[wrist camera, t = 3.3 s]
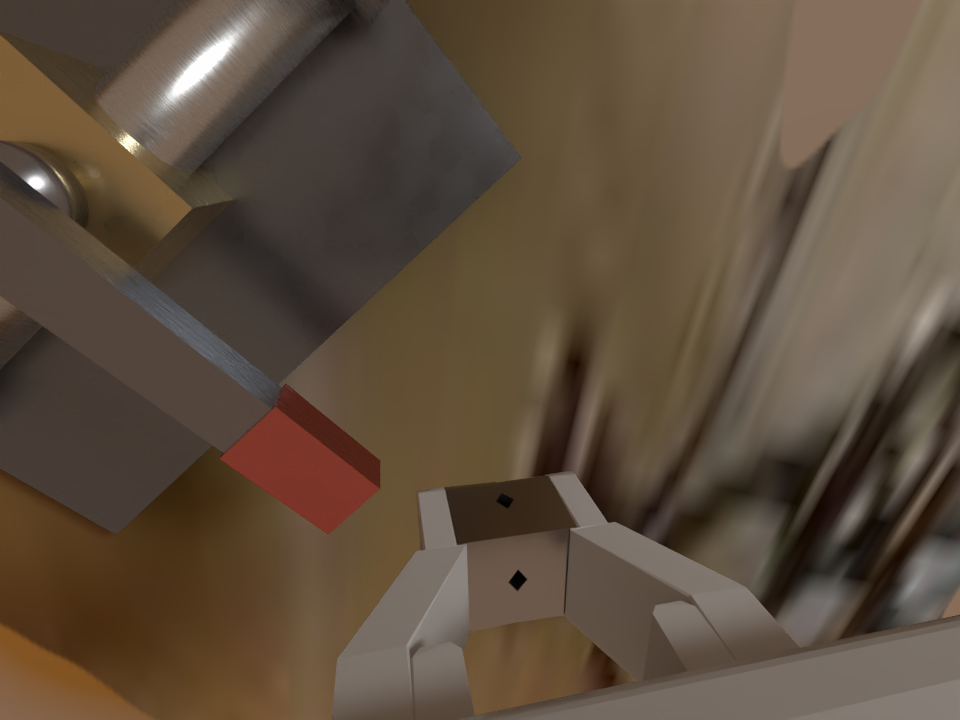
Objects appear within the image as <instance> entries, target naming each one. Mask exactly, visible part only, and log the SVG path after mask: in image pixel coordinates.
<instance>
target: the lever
mask: <svg viewBox="0 0 960 720" xmlns="http://www.w3.org/2000/svg"><path fill="white" fill-rule="evenodd" d="M88 218H89V208H88V202H87V198H86V195H85V192H84V190H83V188H82V186H81V184H80V182H79V181H78V179H77V178H76V176H75V175H74V174H73V172H72V171H71V170H70V169H69V168H68V167H67V166H66V165H65V164H64V163H63V162H62V161H60V160H59V159H58V158H56V157H55V156H54V155H52V154H50V153H49V152H47V151H45V150H43V149H41V148H39V147H36V146H34V145H31V144H27V143H23V142H18V141H8V140H0V296H1V297H2V298H4V299H5V300H6V301H8V302H9V303H11V304H12V305H14V306H15V307H16V308H18V309H19V310H21V311H22V312H23V313H25V314H26V315H28V316H29V317H31V318H32V319H33V320H35V321H36V322H38V323H39V324H41V325H42V326H43V327H45V328H46V329H48V330H49V331H50V332H52V333H53V334H55V335H56V336H58V337H59V338H60V339H62V340H63V341H65V342H66V343H68V344H69V345H70V346H72V347H73V348H75V349H76V350H77V351H79V352H80V353H82V354H83V355H85V356H86V357H87V358H89V359H90V360H92V361H93V362H95V363H96V364H97V365H99V366H100V367H102V368H103V369H104V370H106V371H107V372H109V373H110V374H112V375H113V376H114V377H116V378H117V379H119V380H120V381H122V382H123V383H124V384H126V385H127V386H129V387H130V388H131V389H133V390H134V391H136V392H137V393H139V394H140V395H141V396H143V397H144V398H146V399H147V400H149V401H150V402H151V403H153V404H154V405H156V406H157V407H158V408H160V409H161V410H163V411H164V412H166V413H167V414H168V415H170V416H171V417H173V418H174V419H176V420H177V421H178V422H180V423H181V424H183V425H184V426H185V427H187V428H188V429H190V430H191V431H193V432H194V433H195V434H197V435H198V436H200V437H201V438H203V439H204V440H205V441H207V442H208V443H210V444H211V445H212V446H214V447H215V448H217V449H218V450H220V451H221V452H222V455H221V457H220V458H219V459H220V460H222V461H223V462H225V463H226V464H227V465H229V466H230V467H232V468H233V469H235V470H236V471H237V472H239V473H240V474H242V475H243V476H245V477H246V478H248V479H249V480H250V481H252V482H253V483H255V484H256V485H258V486H259V487H260V488H262V489H263V490H265V491H266V492H268V493H269V494H271V495H272V496H273V497H275V498H276V499H278V500H279V501H281V502H282V503H283V504H285V505H286V506H288V507H289V508H291V509H292V510H294V511H295V512H296V513H298V514H299V515H301V516H302V517H304V518H305V519H306V520H308V521H309V522H311V523H312V524H314V525H315V526H317V527H318V528H319V529H321V530H322V531H324V532H325V533H327V534H329V533H330V532H331V531H333V530H334V529H335V528H336V527H337V526H338V525H339V524H341V523H342V522H343V521H344V520H345V519H346V518H347V517H349V516H350V515H351V514H352V513H353V512H354V511H355V510H357V509H358V508H359V507H360V506H361V505H362V504H363V503H365V502H366V501H367V500H368V499H369V498H370V497H372V496H373V495H374V494H375V493H376V492H377V491H378V490H380V460H379V459H378V458H376V457H375V456H374V455H373V454H371V453H370V452H369V451H368V450H367V449H365V448H364V447H363V446H362V445H360V444H359V443H358V442H357V441H356V440H354V439H353V438H352V437H351V436H349V435H348V434H347V433H346V432H344V431H343V430H342V429H341V428H340V427H338V426H337V425H336V424H335V423H333V422H332V421H331V420H330V419H329V418H327V417H326V416H325V415H324V414H322V413H321V412H320V411H319V410H317V409H316V408H315V407H314V406H313V405H311V404H310V403H309V402H308V401H306V400H305V399H304V398H303V397H302V396H300V395H299V394H298V393H297V392H295V391H294V390H293V389H292V388H290V387H289V386H288V385H287V384H285V385H284V386H283V387H282V388H281V387H280V386H278V385H277V384H276V383H275V382H273V381H272V380H271V379H270V378H268V377H267V376H266V375H265V374H263V373H262V372H261V371H260V370H258V369H257V368H256V367H255V366H254V365H252V364H251V363H250V362H249V361H247V360H246V359H245V358H244V357H242V356H241V355H240V354H239V353H237V352H236V351H235V350H234V349H232V348H231V347H230V346H229V345H227V344H226V343H225V342H224V341H223V340H221V339H220V338H219V337H218V336H216V335H215V334H214V333H213V332H211V331H210V330H209V329H208V328H206V327H205V326H204V325H203V324H201V323H200V322H199V321H198V320H197V319H195V318H194V317H193V316H192V315H190V314H189V313H188V312H187V311H185V310H184V309H183V308H182V307H180V306H179V305H178V304H177V303H175V302H174V301H173V300H172V299H170V298H169V297H168V296H167V295H166V294H164V293H163V292H162V291H161V290H159V289H158V288H157V287H156V286H154V285H153V284H152V283H151V282H149V281H148V280H147V279H146V278H144V277H143V276H142V275H141V274H140V273H138V272H137V271H136V270H135V269H133V268H132V267H131V266H130V265H128V264H127V263H126V262H125V261H123V260H122V259H121V258H120V257H118V256H117V255H116V254H115V253H114V252H112V251H111V250H110V249H109V248H107V247H106V246H105V245H104V244H102V243H101V242H100V241H99V240H97V239H96V238H95V237H94V236H92V235H91V234H90V233H89V232H87V231H86V230H85V229H86V226H87V223H88Z"/></svg>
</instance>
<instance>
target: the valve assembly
mask: <svg viewBox="0 0 960 720" xmlns="http://www.w3.org/2000/svg"><path fill="white" fill-rule="evenodd" d="M0 140H8V141H18V142H23V143H27V144H31V145H34V146H36V147H39V148H41V149H43V150H45V151H47V152H49V153H50V154H52V155H54V156H55V157H56V158H58V159H59V160H60V161H62V162H63V163H64V164H65V165H66V166H67V167H68V168H69V169H70V170H71V171H72V172H73V174H74V175H75V176H76V178H77V179H78V181H79V182H80V184H81V186H82V188H83V190H84V192H85V195H86V198H87V202H88V208H89V218H88V223H87V226H86V229H85V230H86V231H87V232H89V233H90V234H91V235H92V236H94V237H95V238H96V239H97V240H99V241H100V242H101V243H102V244H104V245H105V246H106V247H107V248H109V249H110V250H111V251H112V252H114V253H115V254H116V255H117V256H118V257H120V258H121V259H122V260H123V261H125V262H126V263H127V264H128V265H130V266H131V267H132V268H133V269H135V270H136V271H137V272H138V273H140V274H141V275H142V276H143V277H144V278H146V279H147V280H148V281H149V282H151V283H152V284H153V285H154V286H156V287H157V288H158V289H159V290H161V291H162V292H163V293H164V294H166V295H167V296H168V297H169V298H170V299H172V300H173V301H174V302H175V303H177V304H178V305H179V306H180V307H182V308H183V309H184V310H185V311H187V312H188V313H189V314H190V315H192V316H193V317H194V318H195V319H197V320H198V321H199V322H200V323H201V324H203V325H204V326H205V327H206V328H208V329H209V330H210V331H211V332H213V333H214V334H215V335H216V336H218V337H219V338H220V339H221V340H223V341H224V342H225V343H226V344H227V345H229V346H230V347H231V348H232V349H234V350H235V351H236V352H237V353H239V354H240V355H241V356H242V357H244V358H245V359H246V360H247V361H249V362H250V363H251V364H252V365H254V366H255V367H256V368H257V369H258V370H260V371H261V372H262V373H263V374H265V375H266V376H267V377H268V378H270V379H271V380H272V381H273V382H275V383H276V384H277V385H278V384H279V383H280V382H281V381H282V380H283V379H284V378H286V377H287V376H288V375H289V374H290V373H291V372H292V371H293V370H294V369H295V368H296V367H297V366H298V365H299V364H301V363H302V362H303V361H304V360H305V359H306V358H307V357H308V356H309V355H310V354H311V353H312V352H313V351H315V350H316V349H317V348H318V347H319V346H320V345H321V344H322V343H323V342H324V341H325V340H326V339H327V338H329V337H330V336H331V335H332V334H333V333H334V332H335V331H336V330H337V329H338V328H339V327H340V326H341V325H342V324H344V323H345V322H346V321H347V320H348V319H349V318H350V317H351V316H352V315H353V314H354V313H355V312H356V311H358V310H359V309H360V308H361V307H362V306H363V305H364V304H365V303H366V302H367V301H368V300H369V299H370V298H371V297H373V296H374V295H375V294H376V293H377V292H378V291H379V290H380V289H381V288H382V287H383V286H384V285H385V284H387V283H388V282H389V281H390V280H391V279H392V278H393V277H394V276H395V275H396V274H397V273H398V272H399V271H401V270H402V269H403V268H404V267H405V266H406V265H407V264H408V263H409V262H410V261H411V260H412V259H413V258H414V257H416V256H417V255H418V254H419V253H420V252H421V251H422V250H423V249H424V248H425V247H426V246H427V245H428V244H430V243H431V242H432V241H433V240H434V239H435V238H436V237H437V236H438V235H439V234H440V233H441V232H442V231H443V230H445V229H446V228H447V227H448V226H449V225H450V224H451V223H452V222H453V221H454V220H455V219H456V218H457V217H459V216H460V215H461V214H462V213H463V212H464V211H465V210H466V209H467V208H468V207H469V206H470V205H471V204H473V203H474V202H475V201H476V200H477V199H478V198H479V197H480V196H481V195H482V194H483V193H484V192H485V191H486V190H488V189H489V188H490V187H491V186H492V185H493V184H494V183H495V182H496V181H497V180H498V179H499V178H500V177H502V176H503V175H504V174H505V173H506V172H507V171H508V170H509V169H510V168H511V167H512V166H513V165H514V164H515V163H517V162H518V161H519V160H520V159H521V156H520V155H519V154H518V152H517V151H516V150H515V148H514V147H513V146H512V144H511V143H510V142H509V140H508V139H507V138H506V136H505V135H504V134H503V132H502V131H501V130H500V128H499V127H498V125H497V124H496V123H495V121H494V120H493V119H492V117H491V116H490V115H489V113H488V112H487V111H486V109H485V108H484V107H483V105H482V104H481V103H480V101H479V100H478V99H477V97H476V96H475V94H474V93H473V92H472V90H471V89H470V88H469V86H468V85H467V84H466V82H465V81H464V80H463V78H462V77H461V76H460V74H459V73H458V72H457V70H456V69H455V68H454V66H453V65H452V63H451V62H450V61H449V59H448V58H447V57H446V55H445V54H444V53H443V51H442V50H441V49H440V47H439V46H438V45H437V43H436V42H435V41H434V39H433V38H432V37H431V35H430V34H429V33H428V31H427V30H426V28H425V27H424V26H423V24H422V23H421V22H420V20H419V19H418V18H417V16H416V15H415V14H414V12H413V11H412V10H411V8H410V7H409V6H408V4H407V3H406V2H405V0H0ZM211 446H212V445H211V444H210V443H208V442H207V441H205V440H204V439H203V438H201V437H200V436H198V435H197V434H195V433H194V432H193V431H191V430H190V429H188V428H187V427H185V426H184V425H183V424H181V423H180V422H178V421H177V420H176V419H174V418H173V417H171V416H170V415H168V414H167V413H166V412H164V411H163V410H161V409H160V408H158V407H157V406H156V405H154V404H153V403H151V402H150V401H149V400H147V399H146V398H144V397H143V396H141V395H140V394H139V393H137V392H136V391H134V390H133V389H131V388H130V387H129V386H127V385H126V384H124V383H123V382H122V381H120V380H119V379H117V378H116V377H114V376H113V375H112V374H110V373H109V372H107V371H106V370H104V369H103V368H102V367H100V366H99V365H97V364H96V363H95V362H93V361H92V360H90V359H89V358H87V357H86V356H85V355H83V354H82V353H80V352H79V351H77V350H76V349H75V348H73V347H72V346H70V345H69V344H68V343H66V342H65V341H63V340H62V339H60V338H59V337H58V336H56V335H55V334H53V333H52V332H50V331H49V330H48V329H46V328H45V327H43V326H42V325H41V324H39V323H38V322H36V321H35V320H33V319H32V318H31V317H29V316H28V315H26V314H25V313H23V312H22V311H21V310H19V309H18V308H16V307H15V306H14V305H12V304H11V303H9V302H8V301H6V300H5V299H4V298H2V297H1V296H0V469H1V470H3V471H5V472H7V473H8V474H10V475H12V476H14V477H15V478H17V479H19V480H21V481H22V482H24V483H26V484H28V485H29V486H31V487H33V488H35V489H36V490H38V491H40V492H42V493H43V494H45V495H47V496H49V497H50V498H52V499H54V500H56V501H57V502H59V503H61V504H63V505H64V506H66V507H68V508H70V509H71V510H73V511H75V512H77V513H78V514H80V515H82V516H84V517H85V518H87V519H89V520H91V521H92V522H94V523H96V524H98V525H99V526H101V527H103V528H105V529H106V530H108V531H110V532H112V533H113V534H115V535H117V534H118V533H119V532H120V531H121V530H122V529H123V528H124V527H125V526H126V525H128V524H129V523H130V522H131V521H132V520H133V519H134V518H135V517H136V516H137V515H138V514H139V513H140V512H142V511H143V510H144V509H145V508H146V507H147V506H148V505H149V504H150V503H151V502H152V501H153V500H154V499H155V498H157V497H158V496H159V495H160V494H161V493H162V492H163V491H164V490H165V489H166V488H167V487H168V486H169V485H171V484H172V483H173V482H174V481H175V480H176V479H177V478H178V477H179V476H180V475H181V474H182V473H183V472H185V471H186V470H187V469H188V468H189V467H190V466H191V465H192V464H193V463H194V462H195V461H196V460H197V459H198V458H200V457H201V456H202V455H203V454H204V453H205V452H206V451H207V450H208V449H209V448H210V447H211Z"/></svg>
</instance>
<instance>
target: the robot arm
mask: <svg viewBox="0 0 960 720" xmlns="http://www.w3.org/2000/svg"><path fill="white" fill-rule="evenodd" d="M417 508H418V523H419V538H420V551H416V552H415V553H414V554H413V555H412V557H411V558H410V559H409V561H408V562H407V564H406V565H405V566H404V568H403V569H402V571H401V572H400V573H399V575H398V576H397V577H396V579H395V580H394V582H393V583H392V584H391V586H390V587H389V589H388V590H387V591H386V593H385V594H384V595H383V597H382V598H381V600H380V601H379V602H378V604H377V605H376V607H375V608H374V609H373V611H372V612H371V613H370V615H369V616H368V618H367V619H366V620H365V622H364V623H363V625H362V626H361V627H360V629H359V630H358V631H357V633H356V634H355V636H354V637H353V638H352V640H351V641H350V642H349V644H348V645H347V647H346V648H345V649H344V651H343V652H342V654H341V655H340V656H339V658H338V659H337V669H336V680H335V691H334V703H333V714H332V720H960V615H957V616H952V617H947V618H942V619H937V620H933V621H928V622H923V623H918V624H913V625H908V626H904V627H899V628H894V629H889V630H885V631H880V632H875V633H870V634H865V635H861V636H856V637H851V638H846V639H841V640H837V641H832V642H827V643H822V644H817V645H812V646H808V647H803V648H800V647H799V646H798V645H797V644H796V643H795V642H794V640H793V639H792V638H791V637H790V636H789V635H788V634H787V633H786V631H785V630H784V629H783V628H782V627H781V626H780V625H779V624H778V623H777V621H776V620H775V619H774V618H773V617H772V616H771V615H770V614H769V612H768V611H767V610H766V609H765V608H764V607H763V606H762V605H761V604H760V602H759V601H758V600H757V599H756V598H755V597H754V596H753V595H752V593H751V592H750V591H749V590H748V589H747V588H746V587H745V586H743V585H741V584H739V583H737V582H735V581H733V580H730V579H728V578H726V577H724V576H722V575H720V574H718V573H716V572H714V571H712V570H710V569H708V568H706V567H704V566H702V565H700V564H698V563H696V562H694V561H692V560H690V559H688V558H686V557H684V556H682V555H680V554H678V553H676V552H674V551H672V550H670V549H668V548H666V547H664V546H662V545H660V544H658V543H656V542H654V541H652V540H650V539H648V538H646V537H644V536H642V535H640V534H638V533H636V532H634V531H632V530H630V529H628V528H626V527H624V526H622V525H620V524H618V523H616V522H613V523H608V522H607V521H606V520H605V518H604V517H603V515H602V514H601V512H600V511H599V509H598V508H597V506H596V505H595V503H594V502H593V500H592V499H591V497H590V496H589V494H588V493H587V491H586V490H585V488H584V487H583V485H582V484H581V483H580V481H579V480H578V478H577V477H576V475H575V474H574V473H573V472H571V471H568V472H562V473H555V474H549V475H545V476H540V477H533V478H525V479H518V480H511V481H504V482H491V483H481V484H472V485H462V486H453V487H444V488H443V487H442V488H434V489H427V490H419V491H417ZM562 615H565V618H566V619H567V620H568V621H569V622H571V623H572V624H573V625H574V626H575V627H576V628H577V629H578V630H580V631H581V632H582V633H583V634H584V635H585V636H586V637H588V638H589V639H590V640H591V641H592V642H593V643H594V644H596V645H597V646H598V647H599V648H600V649H601V650H602V651H603V652H605V653H606V654H607V655H608V656H609V657H610V658H611V659H613V660H614V661H615V662H616V663H617V664H618V665H619V666H621V667H622V668H623V669H624V670H625V671H626V672H627V673H629V674H630V675H631V676H632V677H633V678H634V679H635V680H636V681H638V682H633V683H628V684H624V685H619V686H614V687H609V688H604V689H600V690H595V691H590V692H585V693H580V694H575V695H571V696H566V697H561V698H556V699H551V700H547V701H542V702H537V703H532V704H527V705H523V706H518V707H513V708H508V709H503V710H498V711H494V712H489V713H484V714H479V715H474V710H473V704H472V699H471V694H470V689H469V683H468V678H467V673H466V668H465V662H464V657H463V651H464V649H465V646H466V643H467V641H468V638H469V636H470V632H472V631H477V630H481V629H486V628H491V627H496V626H501V625H505V624H510V623H515V622H521V621H528V620H535V619H542V618H549V617H555V616H562Z"/></svg>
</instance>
